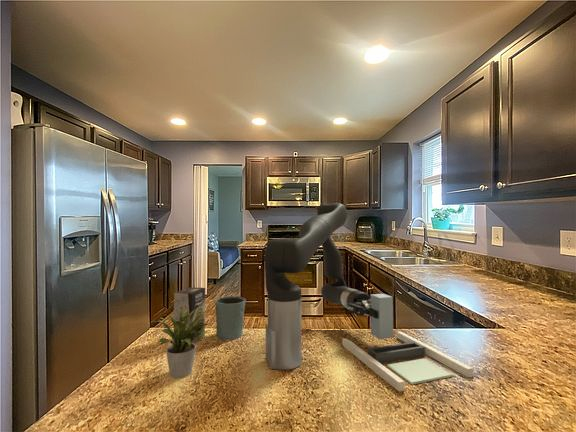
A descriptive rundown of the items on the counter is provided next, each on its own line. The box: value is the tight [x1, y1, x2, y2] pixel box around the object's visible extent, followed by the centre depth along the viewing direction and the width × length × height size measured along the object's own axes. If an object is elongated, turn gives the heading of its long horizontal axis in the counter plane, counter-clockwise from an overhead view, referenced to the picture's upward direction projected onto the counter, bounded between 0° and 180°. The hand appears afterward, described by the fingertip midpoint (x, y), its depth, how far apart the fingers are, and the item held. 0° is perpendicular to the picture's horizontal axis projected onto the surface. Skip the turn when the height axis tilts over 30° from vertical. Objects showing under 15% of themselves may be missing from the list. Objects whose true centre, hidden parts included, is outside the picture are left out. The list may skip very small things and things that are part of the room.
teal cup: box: [214, 295, 246, 341], centre depth 97 cm, size 10×10×12 cm
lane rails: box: [342, 331, 474, 392], centre depth 79 cm, size 22×26×2 cm
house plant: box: [148, 306, 212, 379], centre depth 70 cm, size 14×14×16 cm
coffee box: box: [172, 287, 206, 344], centre depth 93 cm, size 9×6×16 cm
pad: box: [386, 358, 453, 385], centre depth 72 cm, size 12×9×1 cm
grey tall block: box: [370, 293, 394, 340], centre depth 87 cm, size 5×5×12 cm
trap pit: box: [367, 342, 426, 364], centre depth 80 cm, size 16×4×2 cm, turn 107°
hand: (385, 314), depth 85 cm, fingers closed on grey tall block, 4 cm apart
